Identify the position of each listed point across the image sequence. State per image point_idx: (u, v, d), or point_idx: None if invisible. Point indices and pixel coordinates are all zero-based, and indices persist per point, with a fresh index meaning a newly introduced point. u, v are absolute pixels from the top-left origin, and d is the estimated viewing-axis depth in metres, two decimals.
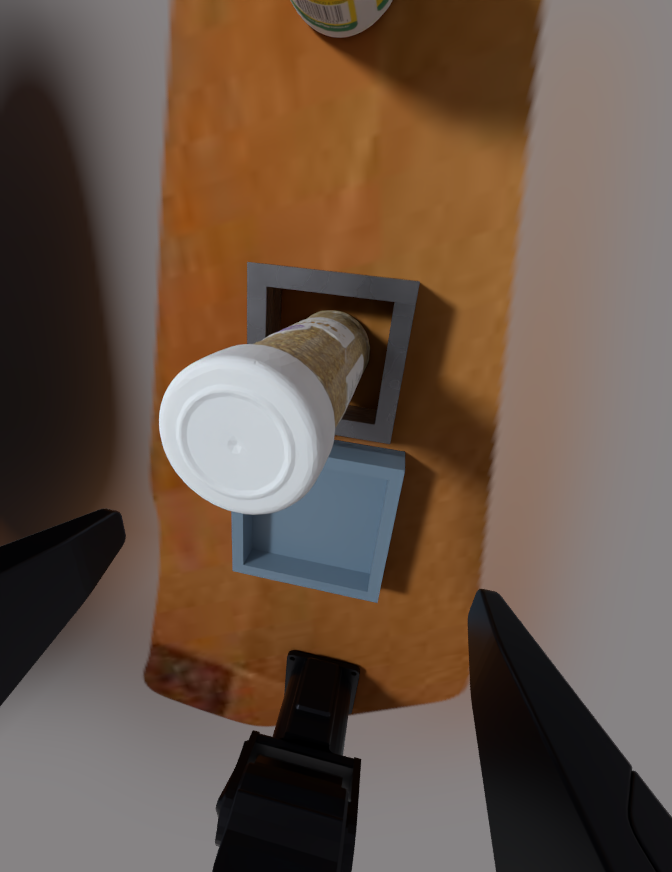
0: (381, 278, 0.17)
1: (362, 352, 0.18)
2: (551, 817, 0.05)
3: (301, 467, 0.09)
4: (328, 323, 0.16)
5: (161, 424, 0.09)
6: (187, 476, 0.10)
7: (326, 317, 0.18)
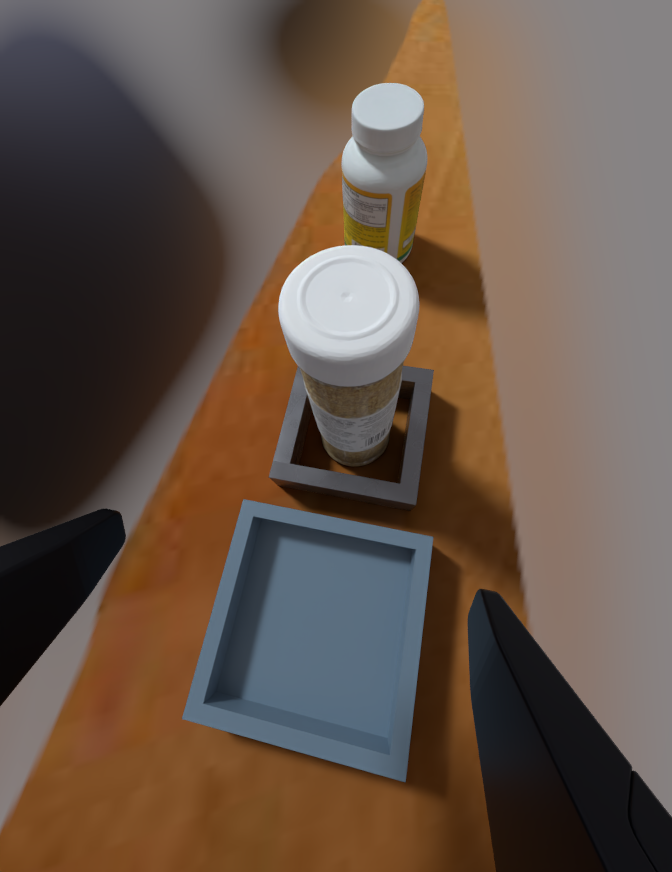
0: (404, 366, 0.23)
1: None
2: (551, 817, 0.05)
3: (402, 309, 0.11)
4: None
5: (286, 284, 0.12)
6: (295, 323, 0.11)
7: None
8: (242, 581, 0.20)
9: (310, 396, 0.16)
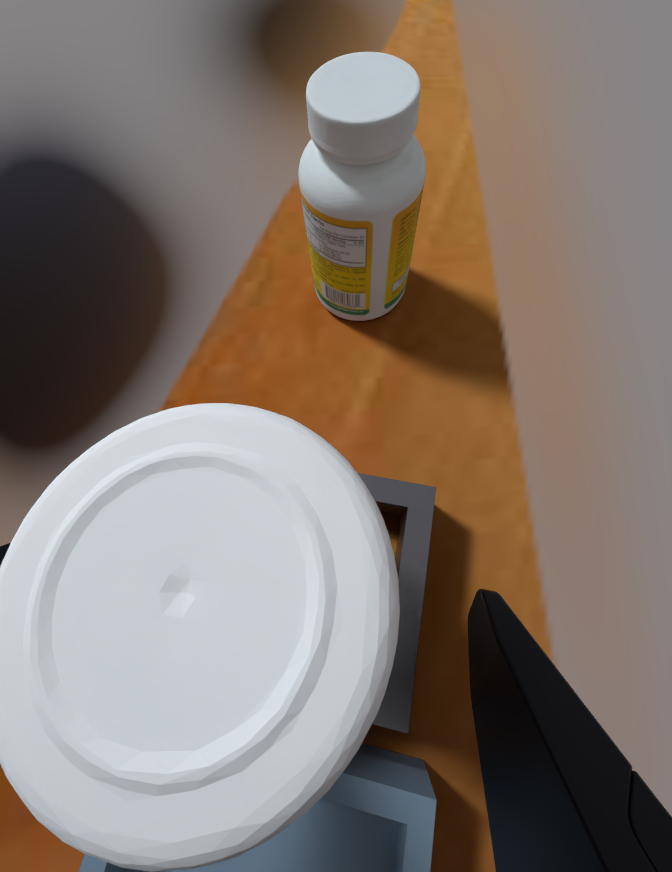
0: (392, 480, 0.15)
1: None
2: (551, 817, 0.05)
3: (343, 665, 0.03)
4: None
5: (20, 532, 0.04)
6: (5, 693, 0.04)
7: None
8: None
9: None
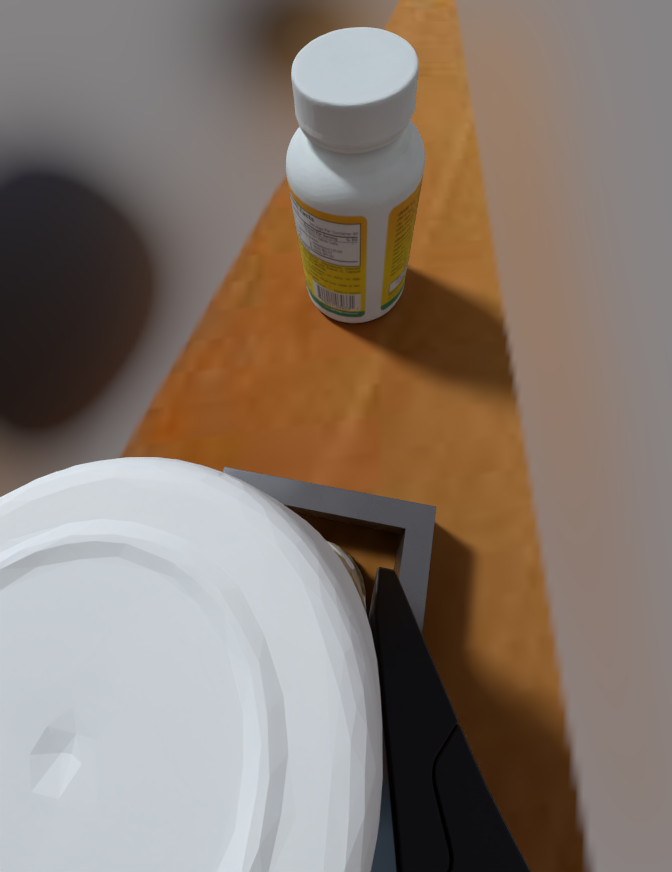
0: (388, 499, 0.14)
1: None
2: None
3: None
4: None
5: None
6: None
7: None
8: None
9: None
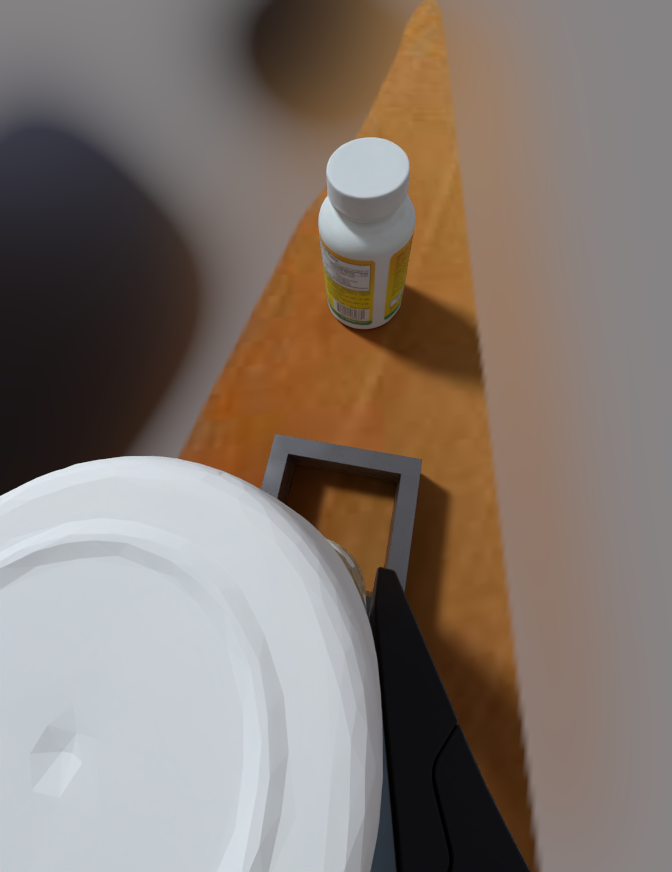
0: (389, 454, 0.20)
1: None
2: None
3: None
4: None
5: None
6: None
7: None
8: None
9: None
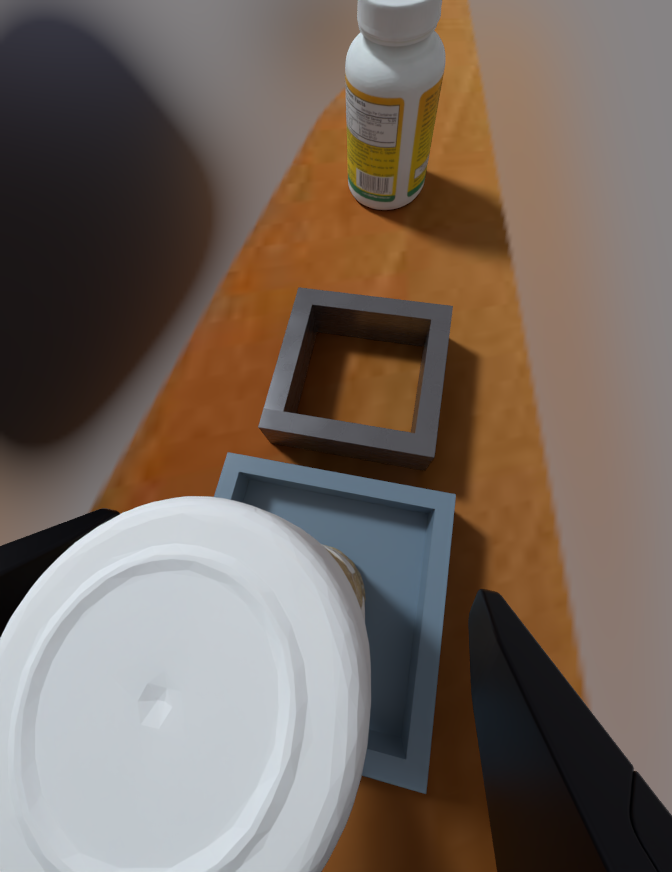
0: (418, 303, 0.19)
1: None
2: (552, 818, 0.05)
3: (312, 783, 0.04)
4: None
5: (6, 634, 0.04)
6: None
7: None
8: None
9: None
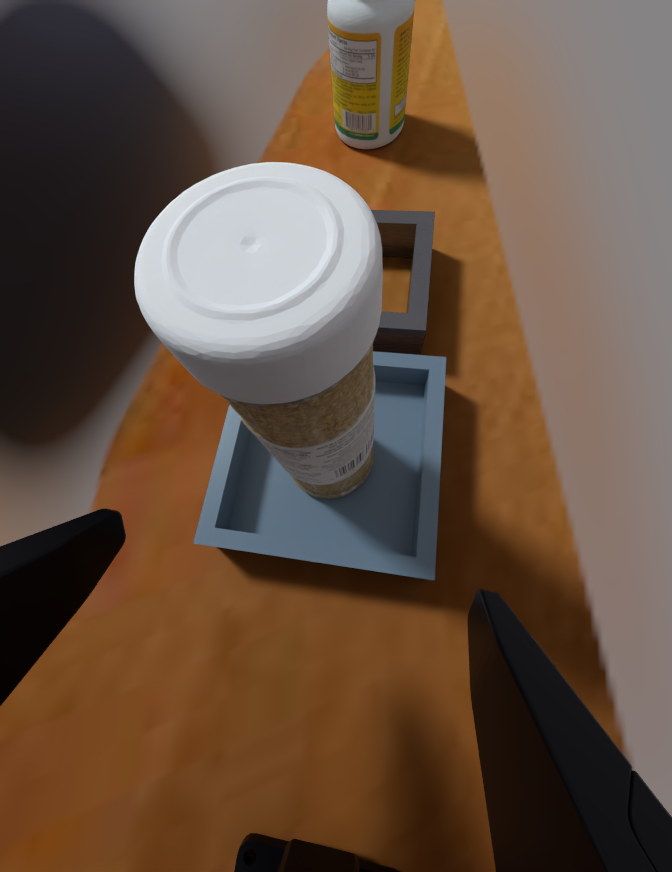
0: (404, 212, 0.22)
1: None
2: (551, 817, 0.05)
3: (350, 259, 0.06)
4: None
5: (148, 232, 0.07)
6: (156, 295, 0.06)
7: None
8: None
9: (241, 417, 0.11)
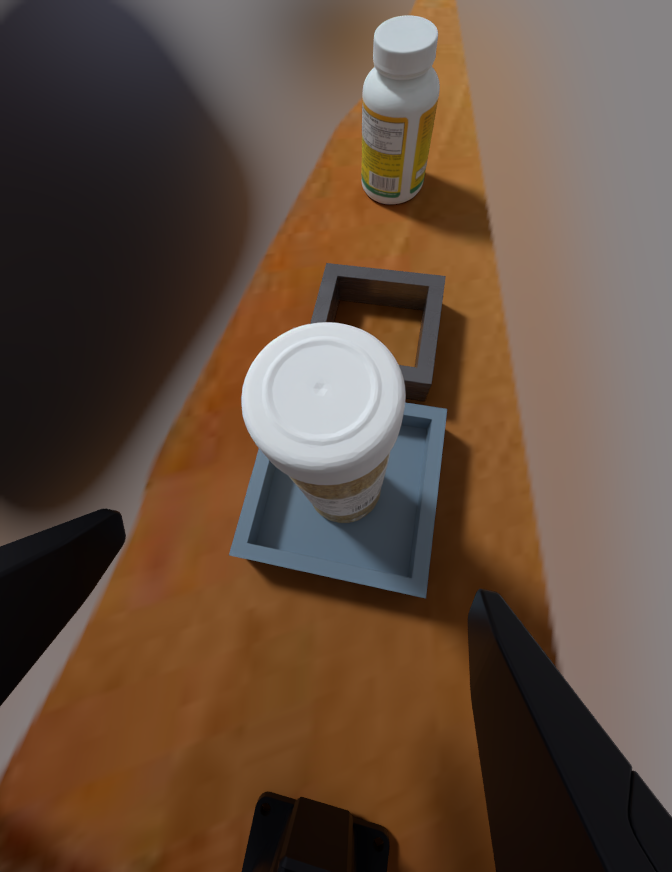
0: (419, 274, 0.25)
1: None
2: (551, 817, 0.05)
3: (385, 407, 0.09)
4: None
5: (251, 371, 0.10)
6: (259, 421, 0.10)
7: None
8: None
9: None
